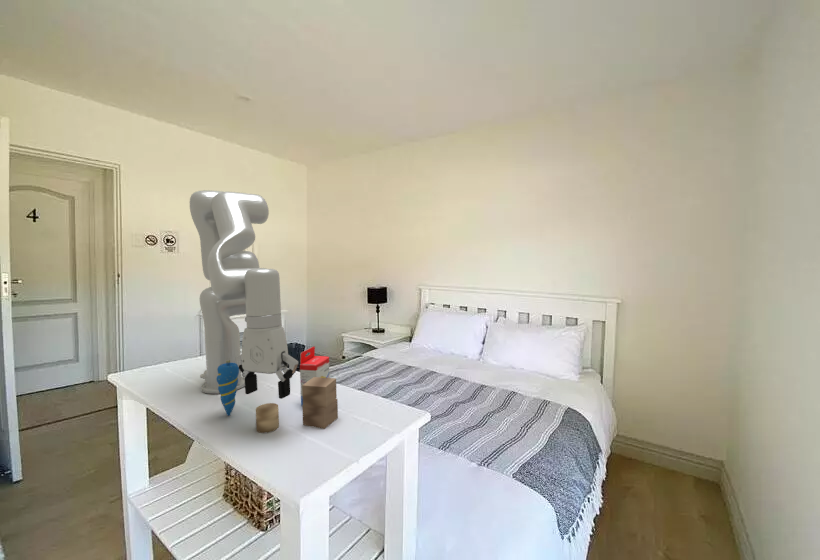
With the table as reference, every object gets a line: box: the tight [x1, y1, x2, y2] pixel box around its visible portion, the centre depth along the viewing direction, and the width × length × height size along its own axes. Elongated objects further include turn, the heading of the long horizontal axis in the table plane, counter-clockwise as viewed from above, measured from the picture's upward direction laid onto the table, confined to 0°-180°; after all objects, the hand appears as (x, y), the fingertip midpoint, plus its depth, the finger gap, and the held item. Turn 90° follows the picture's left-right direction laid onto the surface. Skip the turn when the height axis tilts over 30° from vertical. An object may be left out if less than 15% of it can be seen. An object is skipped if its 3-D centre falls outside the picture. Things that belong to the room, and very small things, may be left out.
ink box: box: [299, 346, 330, 407], centre depth 100 cm, size 8×5×15 cm, turn 168°
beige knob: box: [255, 402, 280, 434], centre depth 85 cm, size 5×5×5 cm
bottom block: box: [301, 398, 339, 430], centre depth 88 cm, size 6×6×5 cm
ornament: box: [217, 358, 239, 417], centre depth 91 cm, size 5×5×15 cm
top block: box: [302, 377, 338, 408], centre depth 88 cm, size 6×6×5 cm
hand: (267, 394), depth 84 cm, fingers open, 9 cm apart
